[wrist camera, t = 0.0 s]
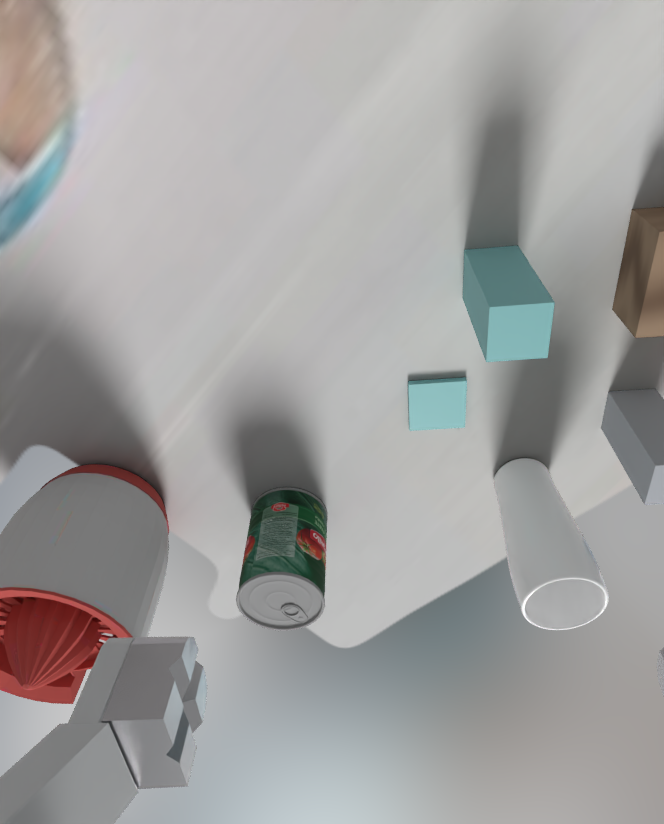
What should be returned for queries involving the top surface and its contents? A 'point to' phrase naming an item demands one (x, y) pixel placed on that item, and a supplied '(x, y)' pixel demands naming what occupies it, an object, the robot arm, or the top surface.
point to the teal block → (507, 304)
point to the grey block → (638, 438)
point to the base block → (642, 275)
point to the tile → (437, 403)
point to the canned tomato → (284, 560)
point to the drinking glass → (546, 550)
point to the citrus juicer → (77, 577)
